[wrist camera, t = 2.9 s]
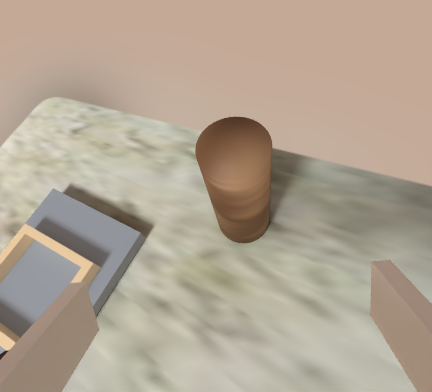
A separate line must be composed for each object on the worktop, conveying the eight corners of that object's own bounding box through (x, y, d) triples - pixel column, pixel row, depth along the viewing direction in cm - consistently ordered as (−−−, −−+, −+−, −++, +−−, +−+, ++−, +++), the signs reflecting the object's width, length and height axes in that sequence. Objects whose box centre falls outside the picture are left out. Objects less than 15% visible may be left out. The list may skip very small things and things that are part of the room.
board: (146, 237, 31) (135, 227, 29) (23, 430, 25) (-5, 438, 22) (61, 194, 35) (44, 181, 32) (-63, 351, 29) (-96, 351, 26)
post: (277, 207, 31) (284, 129, 20) (256, 251, 29) (251, 191, 18) (232, 189, 32) (217, 108, 22) (209, 230, 31) (181, 163, 20)
